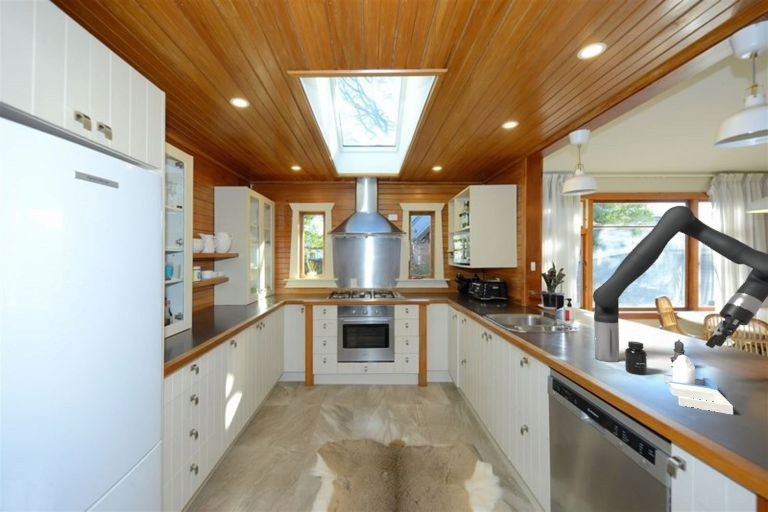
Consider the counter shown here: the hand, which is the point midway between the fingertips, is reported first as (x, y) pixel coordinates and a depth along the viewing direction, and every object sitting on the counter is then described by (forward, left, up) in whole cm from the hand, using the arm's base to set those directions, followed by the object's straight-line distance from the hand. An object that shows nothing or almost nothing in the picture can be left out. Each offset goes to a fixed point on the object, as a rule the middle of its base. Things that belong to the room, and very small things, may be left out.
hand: (712, 345), depth 115 cm
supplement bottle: (-21, +5, -15) cm, 26 cm away
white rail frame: (-8, -14, -15) cm, 22 cm away
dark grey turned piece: (-5, +20, -15) cm, 25 cm away
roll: (-9, -7, -15) cm, 19 cm away
